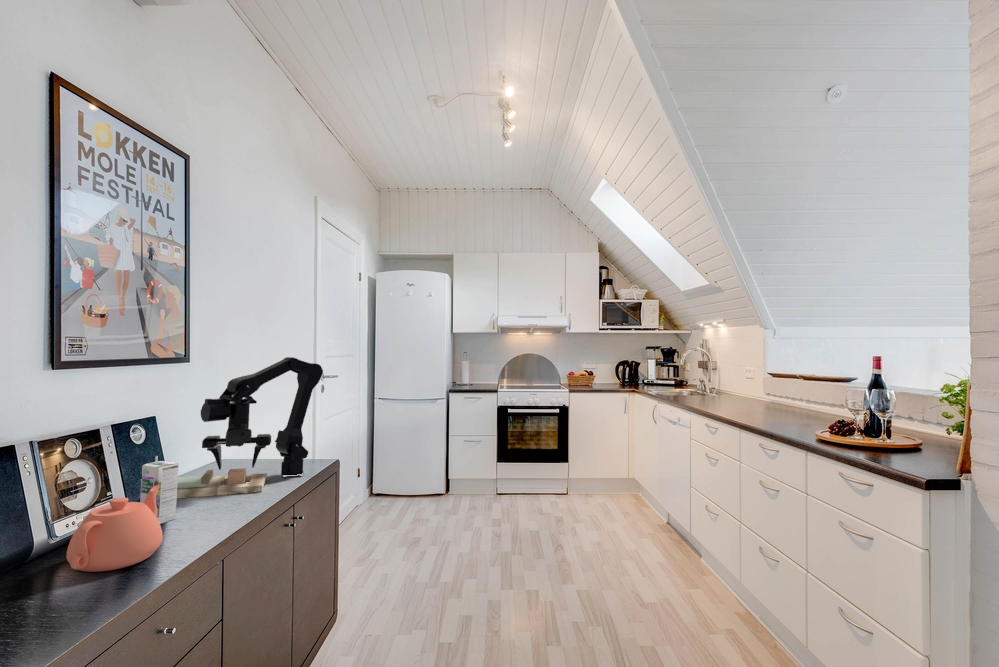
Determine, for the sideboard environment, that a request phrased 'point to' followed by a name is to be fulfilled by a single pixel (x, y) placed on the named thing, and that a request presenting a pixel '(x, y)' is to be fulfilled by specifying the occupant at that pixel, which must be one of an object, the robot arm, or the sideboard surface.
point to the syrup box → (161, 487)
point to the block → (236, 476)
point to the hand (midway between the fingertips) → (236, 468)
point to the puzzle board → (224, 487)
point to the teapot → (116, 535)
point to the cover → (195, 480)
